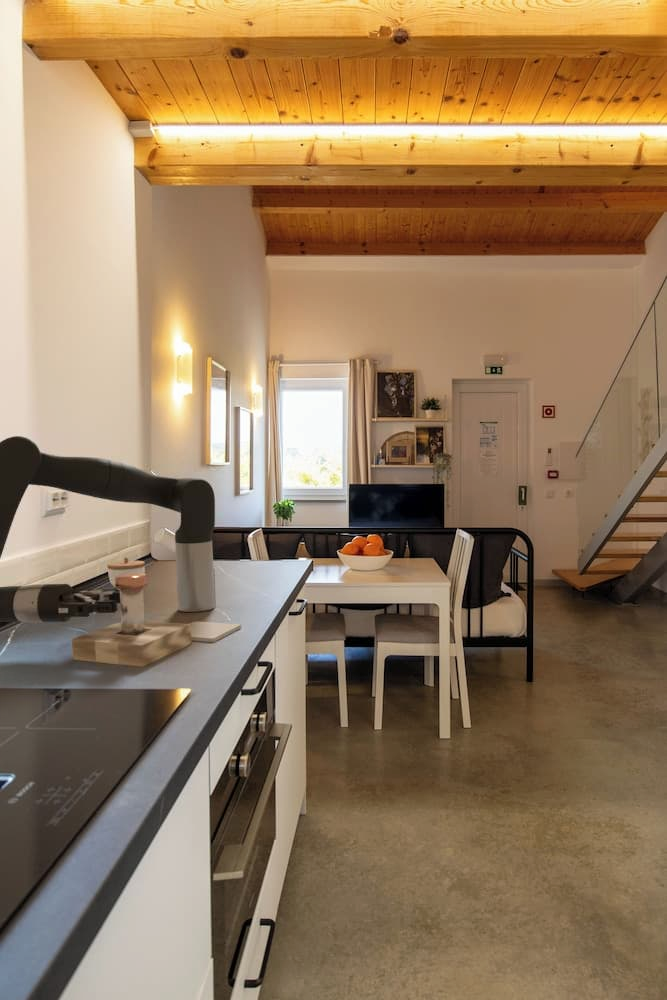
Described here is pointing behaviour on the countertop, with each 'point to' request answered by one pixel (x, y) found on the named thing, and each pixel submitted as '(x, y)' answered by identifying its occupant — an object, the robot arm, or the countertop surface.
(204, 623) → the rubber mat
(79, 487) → the robot arm
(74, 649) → the bore block
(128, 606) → the copper-capped metal cylinder
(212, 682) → the countertop surface
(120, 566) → the lidded jar
